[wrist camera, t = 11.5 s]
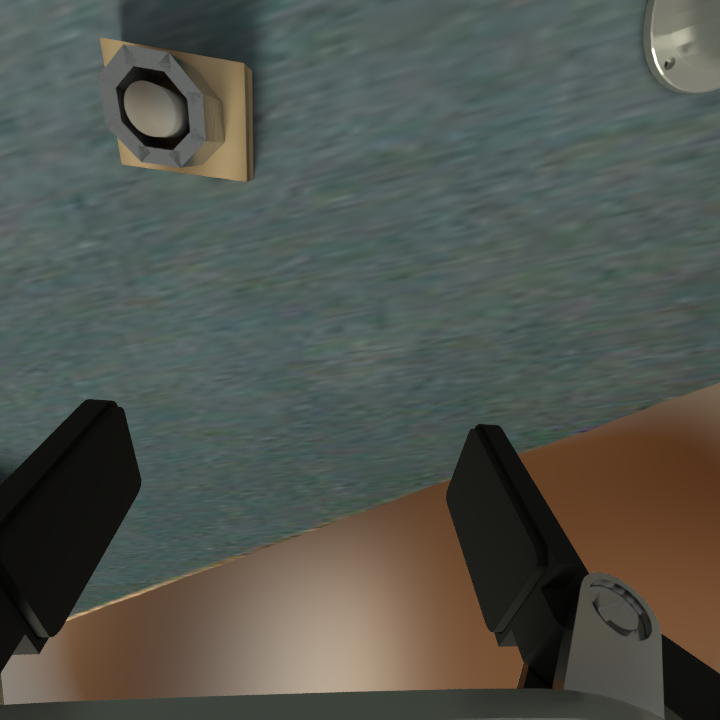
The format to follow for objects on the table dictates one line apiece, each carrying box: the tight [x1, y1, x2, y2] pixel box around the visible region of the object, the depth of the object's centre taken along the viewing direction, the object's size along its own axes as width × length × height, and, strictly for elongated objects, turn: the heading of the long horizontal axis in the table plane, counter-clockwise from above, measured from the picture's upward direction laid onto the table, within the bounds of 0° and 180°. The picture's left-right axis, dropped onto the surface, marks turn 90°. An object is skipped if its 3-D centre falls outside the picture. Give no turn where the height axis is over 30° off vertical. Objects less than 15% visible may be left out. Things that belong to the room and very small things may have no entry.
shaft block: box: [100, 38, 254, 182], centre depth 27 cm, size 10×8×8 cm
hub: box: [97, 44, 225, 168], centre depth 26 cm, size 6×6×5 cm
